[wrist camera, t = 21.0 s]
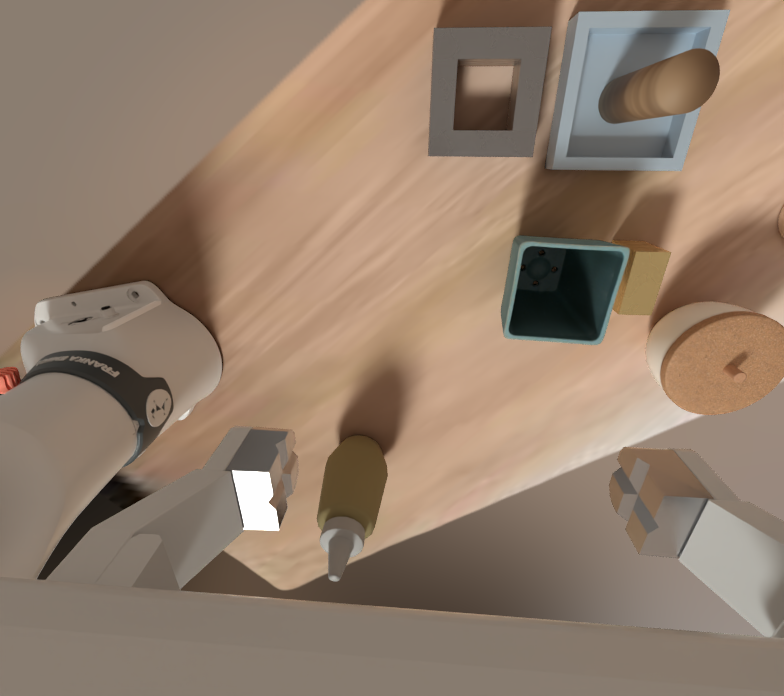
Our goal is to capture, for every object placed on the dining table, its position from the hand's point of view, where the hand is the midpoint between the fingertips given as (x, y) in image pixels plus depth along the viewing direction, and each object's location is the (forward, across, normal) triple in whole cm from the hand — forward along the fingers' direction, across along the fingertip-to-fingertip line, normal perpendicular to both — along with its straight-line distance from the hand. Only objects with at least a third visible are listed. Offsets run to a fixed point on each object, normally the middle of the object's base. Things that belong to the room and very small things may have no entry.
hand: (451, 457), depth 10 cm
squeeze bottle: (+34, +8, +30) cm, 46 cm away
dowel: (+34, -16, -11) cm, 39 cm away
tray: (+34, -16, -11) cm, 39 cm away
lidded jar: (+34, -28, +11) cm, 46 cm away
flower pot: (+34, -11, +4) cm, 36 cm away
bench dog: (+34, -20, +4) cm, 40 cm away
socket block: (+34, -4, -11) cm, 36 cm away
